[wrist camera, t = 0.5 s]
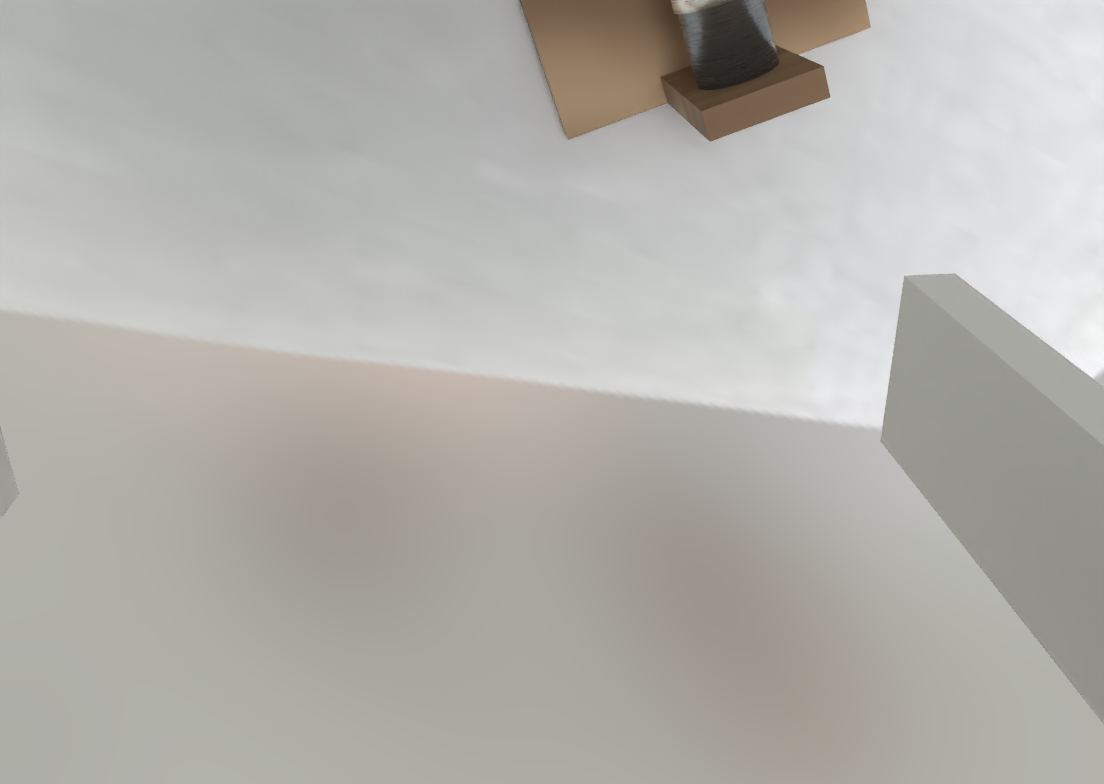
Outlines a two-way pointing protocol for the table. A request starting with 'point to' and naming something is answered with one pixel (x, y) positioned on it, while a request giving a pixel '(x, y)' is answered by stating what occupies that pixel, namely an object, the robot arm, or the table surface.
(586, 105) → the base board
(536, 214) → the table surface
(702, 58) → the pipe
